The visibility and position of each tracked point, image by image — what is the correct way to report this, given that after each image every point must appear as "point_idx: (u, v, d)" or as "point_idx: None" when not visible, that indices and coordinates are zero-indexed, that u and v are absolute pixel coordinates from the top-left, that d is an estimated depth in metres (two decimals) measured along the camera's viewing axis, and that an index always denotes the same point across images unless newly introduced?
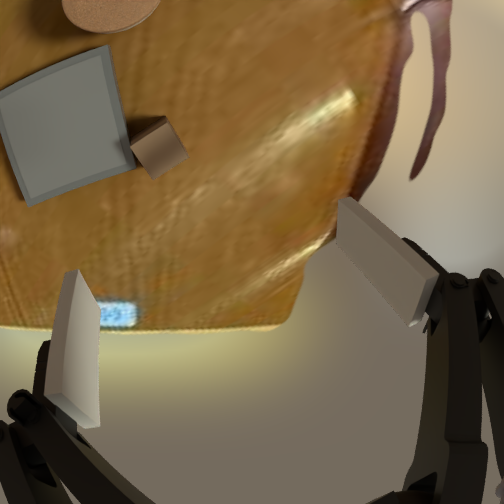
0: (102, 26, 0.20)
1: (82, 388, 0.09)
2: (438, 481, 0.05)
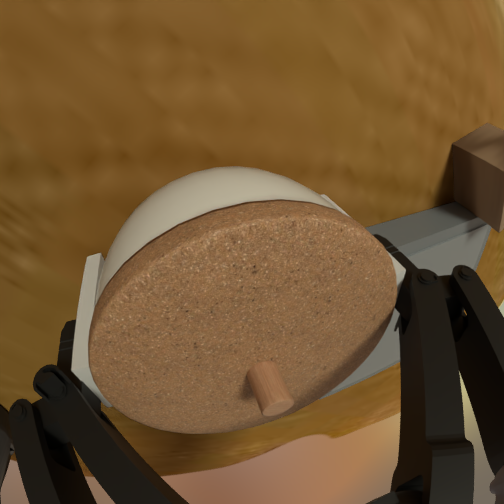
0: (369, 348, 0.11)
1: None
2: (424, 484, 0.05)
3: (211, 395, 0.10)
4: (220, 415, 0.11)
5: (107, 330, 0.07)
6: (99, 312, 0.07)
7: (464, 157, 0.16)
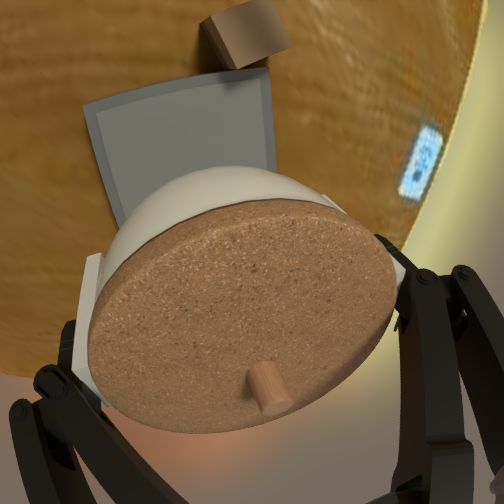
0: (369, 348, 0.11)
1: None
2: (425, 484, 0.05)
3: (211, 395, 0.09)
4: (219, 414, 0.11)
5: (106, 329, 0.07)
6: (98, 311, 0.07)
7: (204, 27, 0.21)
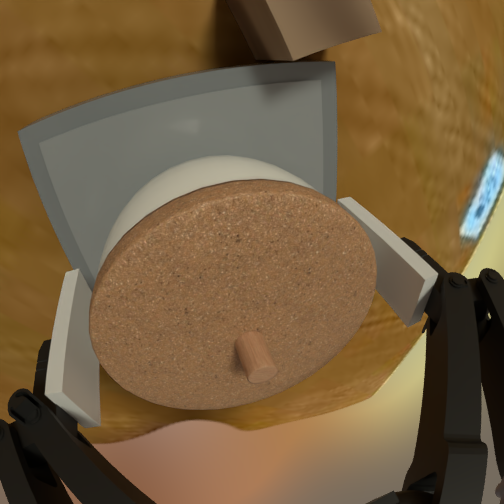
0: (353, 326, 0.12)
1: (83, 387, 0.09)
2: (438, 481, 0.05)
3: (202, 366, 0.10)
4: (211, 388, 0.12)
5: (107, 294, 0.08)
6: (101, 278, 0.08)
7: None
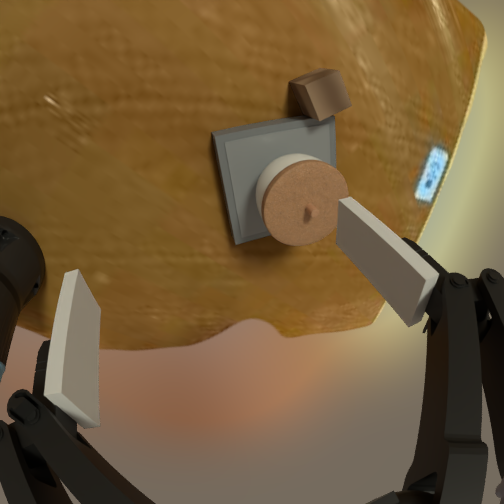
0: None
1: (82, 388, 0.09)
2: (438, 481, 0.05)
3: (295, 216, 0.35)
4: (295, 229, 0.36)
5: (276, 186, 0.32)
6: (274, 181, 0.32)
7: (294, 86, 0.35)
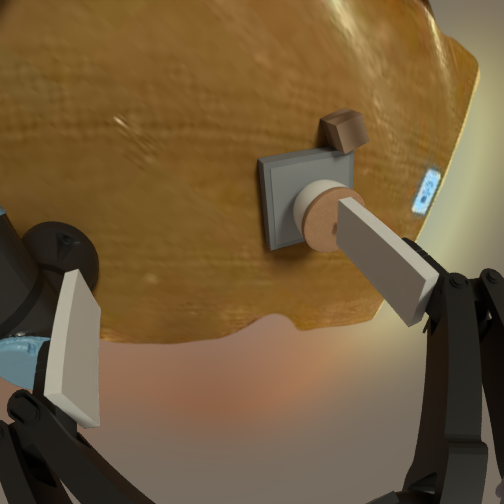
0: None
1: (82, 388, 0.09)
2: (438, 481, 0.05)
3: (326, 229, 0.44)
4: (325, 239, 0.45)
5: (315, 207, 0.42)
6: (314, 203, 0.42)
7: (324, 123, 0.45)
